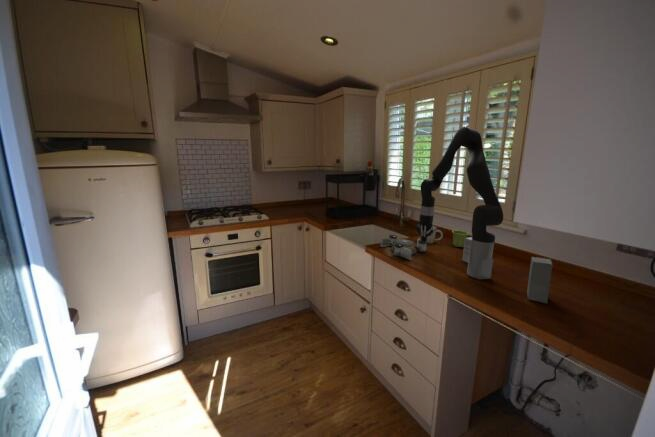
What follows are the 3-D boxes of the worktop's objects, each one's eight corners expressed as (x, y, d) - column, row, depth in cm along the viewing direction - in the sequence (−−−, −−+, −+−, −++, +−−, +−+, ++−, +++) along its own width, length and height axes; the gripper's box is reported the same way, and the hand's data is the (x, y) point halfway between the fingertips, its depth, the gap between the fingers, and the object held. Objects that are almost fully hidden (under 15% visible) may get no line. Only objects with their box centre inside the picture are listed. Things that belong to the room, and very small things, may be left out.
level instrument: (421, 254, 165) (422, 244, 164) (398, 255, 162) (399, 245, 160) (409, 246, 178) (409, 237, 177) (387, 247, 175) (388, 238, 174)
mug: (420, 239, 193) (421, 224, 191) (440, 241, 191) (442, 226, 189) (422, 243, 185) (424, 228, 183) (443, 245, 183) (445, 229, 181)
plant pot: (453, 242, 189) (455, 229, 187) (469, 246, 183) (471, 232, 181) (447, 245, 182) (449, 232, 180) (463, 249, 176) (465, 235, 174)
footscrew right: (426, 252, 167) (428, 242, 166) (418, 252, 167) (419, 242, 166) (422, 246, 178) (423, 237, 176) (414, 246, 178) (414, 236, 176)
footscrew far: (392, 243, 182) (393, 234, 180) (398, 245, 177) (399, 236, 176) (378, 245, 176) (379, 236, 175) (383, 248, 172) (384, 238, 171)
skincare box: (547, 304, 112) (555, 265, 109) (525, 299, 116) (532, 261, 113) (545, 295, 120) (553, 259, 116) (524, 291, 123) (531, 255, 120)
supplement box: (471, 258, 160) (474, 236, 157) (483, 263, 153) (487, 240, 151) (461, 260, 157) (464, 237, 154) (473, 265, 151) (476, 241, 148)
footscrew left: (391, 254, 162) (392, 244, 161) (398, 252, 165) (398, 242, 163) (406, 260, 153) (407, 249, 152) (413, 259, 156) (414, 248, 155)
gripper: (440, 215, 168) (437, 244, 171) (421, 211, 178) (418, 238, 182) (433, 216, 163) (429, 246, 167) (413, 212, 173) (410, 240, 177)
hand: (423, 242), depth 174 cm, fingers closed
